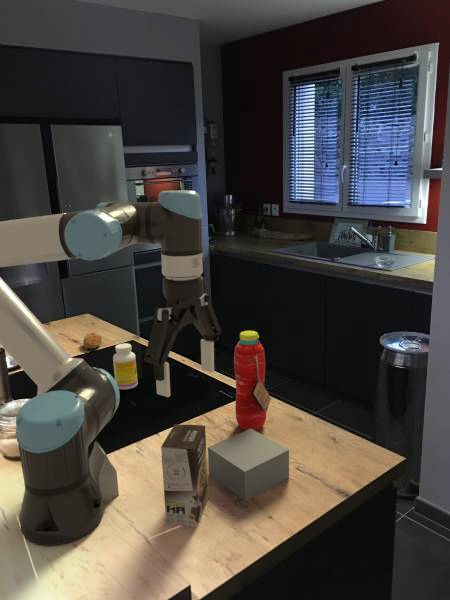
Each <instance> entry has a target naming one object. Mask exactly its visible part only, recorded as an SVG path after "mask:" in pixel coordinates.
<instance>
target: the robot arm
mask: <svg viewBox="0 0 450 600" xmlns="http://www.w3.org/2000/svg"><path fill="white" fill-rule="evenodd" d="M202 223H203V214H202V207H201V196H200V194H199V193H198V192H197V191H196V190H192V189H191V190H188V189H181V190H173V189H172V190H162V191H160V192H159V194H158V199H157V201H153V202H152V201H151V202H144V201H143V202H134V201H133V202H132V201H131V202H129V201H126V202H125V201H123V202H122V201H109V202H100V203H98V204H97V205H96V206H95V208H94V209H92V208H91V209H87V210H86V209H85V210H78V211H77V210H76V211H71V212H65V213H63V212H62V213H57V214H48V215H47V214H46V215H43V216H42V215H41V216H39V215H38V216H33V217H32V216H31V217H25V218H18V219H10V220H2V221H1V220H0V268H4V267H13V266H14V267H15V266H21V265H23V266H24V265H30V264H41V263H50V262H57V261H65V260H66V261H67V260H76V259H77V260H78V259H81V260H84V261H95V260H96V261H97V260H101V259H106V258H108V257H109V256H111V255H113V254H114V253H116V252H118V251H120V250H122V249H124V248H126V247H129V246H131V245H139V244H142V245H143V244H147V245H148V244H152V245H158V244H159V245H160V248H161V249H160V254H161V255H160V256H161V257H160V258H161V274H162V275H163V278H162V293H163V297H164V298H165V299H166V302H167V304H166V307H163V308H161V307H156V308H155V309H154V311H153V312H154V315H153V317H154V318H153V324H152V327H151V331H150V336H149V338H148V342H147V346H146V350H145V354H144V357H143V361H144V362H146V363H149V364H152V365H153V377H154V380H155V385H156V394H157V395H159V396H162V397H166V398H169V397H171V381H170V379H171V378H170V377H171V376H170V363H169V362H168V361H167V360H168V357H169V355H170V352H171V350H172V348H173V346H174V344H175V343H174V342H175V341H176V339H177V337H178V333H179V332H181V331H183V328H184V327H187V326H188V325H189V324H192V325H193V326H194V327H195V328H196V330H197V331H198V332H199V334H200V335H201V336H202V337H203V338H202V339H200V362H201V363H200V364H201V366H200V367H201V371H204V372H208V373H215V352H216V350H215V341H216V342H218V341H219V339H220V335H221V334H222V329H221V326H220V323H219V322H218V318H217V315H216V313H215V311H214V308H213V305H212V296H211V295H210V294H208V293H205V292H204V291H205V290H204V277H203V276H202V274H203V272H204V271H203V270H204V269H203V268H204V267H203V266H204V265H203V228H202V227H203V224H202ZM0 346H1V347H2V348H3V349H4V350H5V352H7V353H8V355H9V356H10V357H11V359H13V361H15V362H16V364H17V365H18V366H19V367H20V368H21V369H22V370H23V371H24V372H25V374H26V375H27V376H28V377H29V378H30V380H32V381H33V382H34V383H35V384H36V385H37V393H36V396H34V397H32V398H31V399H28V400H27V401H26V402H25V403H24V404H23V405H21V407H20V408H19V409H18V412H17V414H16V416H15V427H16V428H15V439H16V440H17V445H18V452H19V456H20V465H21V469H22V477H23V482H24V494H23V498H22V502H21V508H20V511H19V512H20V513H19V525H20V527H19V528H20V532H21V535H23V537H24V538H25V539H26V540H28V541H29V542H32V543H35V544H37V545H44V546H46V545H47V546H53V545H61V544H66V543H69V542H73V541H74V540H77V539H79V538H81V537H83V536H85V535H87V534H89V533H90V532H91V531H92V530H94V529H95V528H96V527H97V526H98V524H99V523H100V522H101V521H102V518H104V513H105V506H104V501H103V498H102V495H101V493H100V491H99V489H98V487H97V485H96V483H95V481H94V479H93V478H92V476H91V474H90V466H89V458H90V456H89V446H90V445H91V444H92V443H93V441H94V440H95V439H96V438H97V436H98V435H99V433H100V432H101V431H102V430H103V429H104V427H105V426H106V425H107V424H108V423H110V422H111V420H112V418H113V417H114V415H115V413H116V412H117V409H118V408H119V404H120V396H121V394H120V389H119V388H118V385H117V383H116V381H115V377H113V376H112V374H110V373H109V372H108V371H107V370H105V369H103V368H97V367H93V366H92V367H91V366H90V365H89V364H88V363H87V362H86V361H85V360H84V358H78V357H73V356H71V355H70V354H69V353H68V351H67V350H65V349H64V347H63V346H62V345H61V344H60V343H59V342H58V341H57V339H56V338H55V337H54V335H52V334H51V333H50V331H48V329H47V328H46V326H44V324H42V322H41V321H40V320H39V319H38V318H37V317H36V315H35V314H34V313H33V312H32V311H31V310H30V309H29V308H28V306H27V305H26V304H25V303H24V302H23V301H22V300H21V299H20V298H19V296H18V295H17V294H16V293H15V291H14V290H13V289H11V287H10V286H9V285H8V284H7V283H6V282H5V281H4V280H3V278H2V277H1V276H0Z"/></svg>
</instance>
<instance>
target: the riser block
mask: <svg viewBox="0 0 450 600" xmlns="http://www.w3.org/2000/svg"><path fill="white" fill-rule="evenodd" d="M207 463H208V476H209V477H210V478H212V479H213V480H215V481H216V482H218V483H219V484H221V485H222V486H223V487H224V488H225V489H227V490H229V491H230V492H232V493H233V494H234V495H235V496H237V497H238V498H240V499H241V500H242V501H244V502H246V503H247V502H248V501H250V500H251V499H254V498H255V497H257V496H259V495H261V494H263V493H265V492H266V491H268V490H270V489H272V488H274V487H276V486H278V485H280V484H281V483H283V482H285V481H287V480H288V479H290V450H289V449H288V448H287V447H284V446H283V445H282V444H280V443H277V442H276V441H275V440H272V439H270V438H268V437H267V436H265V435H263V434H262V433H259V432H258V431H255V430H253V429H248V430H246V431H245V430H243V431H242V432H240V433H237V434H235V435H232V436H230V437H229V438H226V439H224V440H221V441H219V442H216V443H215V444H212V445H210V446H208V447H207Z"/></svg>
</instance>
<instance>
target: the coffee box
mask: <svg viewBox="0 0 450 600" xmlns="http://www.w3.org/2000/svg"><path fill="white" fill-rule="evenodd" d="M206 434H207V433H206V425H202V424H181V423H180V424H179V423H175V424H173V426H172V428H171V429H170V431H169V432H168V434H167V436H166V437H165V440H164V441H163V443H162V445H161V447H160V448H161V463H162V464H161V465H162V466H161V467H162V481H163V482H162V483H163V493H164V494H163V495H164V509H165V510H164V511H165V523H166V524H172V525H179V526H181V525H188V526H187V527H189V526H198V527H199V525H198V524H200V521H201V520H202V516H203V513H204V511H205V508H206V506H207V502H208V500H209V498H210V497H209V477H208V476H209V473H208V454H207V438H206Z"/></svg>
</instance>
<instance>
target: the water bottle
mask: <svg viewBox="0 0 450 600" xmlns="http://www.w3.org/2000/svg"><path fill="white" fill-rule="evenodd" d="M259 338H260V336H259V333H258V331H255V330H244V331H241V332H240V333H239V341H238V342H237V344H236V346H235V347H234V353H233V355H234V356H233V368H234V376H235V390H236V391H235V406H234V407H235V419H236V422H237V425H238V427H239V428H240V429H241V430H242V431H246V430H248V429H253V430H255V431H256V432H258V431H259V430H261V429H262V428H263V426H264V425H265V423H266V420H267V412H268V409H269V406H270V404H271V400H272V397H271V396H270V394H269V392H268V391H267V389H266V388H265V377H266V355H265V348H264V347H263V344H262V343H261V342H260V340H259Z"/></svg>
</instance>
